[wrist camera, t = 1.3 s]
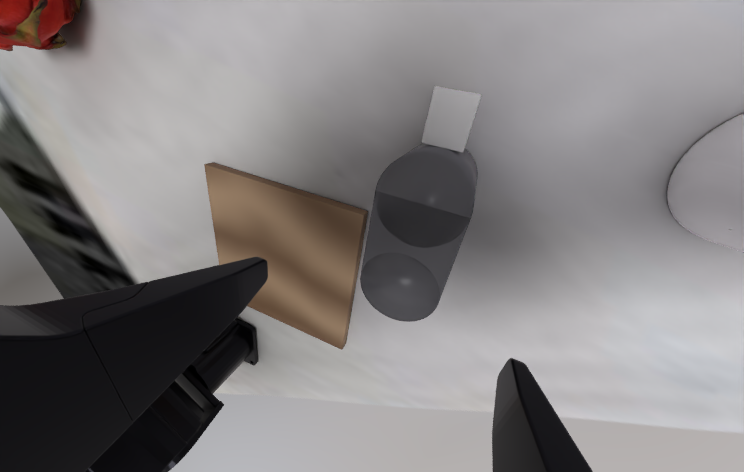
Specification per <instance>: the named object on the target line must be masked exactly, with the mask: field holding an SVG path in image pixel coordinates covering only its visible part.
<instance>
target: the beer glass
mask: <svg viewBox="0 0 744 472" xmlns="http://www.w3.org/2000/svg"><path fill="white" fill-rule="evenodd" d="M667 201H668V206H669V209H670V211H671V213H672V215H673V216H674V218H675V219H676V220H677V222H678V223H679V224H680V225H681V226H682V227H684V228H685V229H686V230H688V231H689V232H691V233H693V234H695V235H697V236H698V237H700V238H703V239H705V240H708V241H710V242H713V243H716V244H719V245H722V246H725V247H728V248H731V249H734V250H737V251H740V252H743V253H744V113H743V114H741V115H738V116H736V117H734V118H732V119H730V120H728V121H727V122H725V123H723V124H721V125H720V126H718V127H716V128H715V129H713V130H712V131H710V132H709V133H708V134H706V135H705V136H704V137H702V138H701V139H700V140H699V141H697V142H696V143H695V144H694V145H693V146H692V147H691V148H690V149H689V150H688V151H687V152H686V153H685V155H684V156H683V157H682V158H681V160H680V161H679V162H678V164H677V165H676V167H675V169H674V171H673V173H672V175H671V177H670V180H669V184H668V188H667Z"/></svg>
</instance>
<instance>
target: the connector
mask: <svg viewBox="0 0 744 472" xmlns="http://www.w3.org/2000/svg"><path fill="white" fill-rule="evenodd" d="M481 97H482V94H478V93H472V92H467V91H461V90H455V89H450V88H444V87H439V86H435V87H434V91H433V95H432V99H431V103H430V108H429V112H428V116H427V120H426V124H425V128H424V132H423V136H422V141H421V143H423V144H421V145H420V146H418V147H416V148H415V149H413V150H412V151H410V152H408V153H407V154H405V155H404V156H402V157H400V158H399V159H397V160H396V161H394V162H393V163H392V164H390V165H389V166H388V167H387V168H386V170H385V171H384V172H383V174H382V175H381V177H380V179H379V181H378V184H377V187H376V191H375V197H374V203H373V208H372V214H371V220H370V225H369V231H368V237H367V242H366V248H365V254H364V259H363V265H362V271H361V278H360V281H361V288H362V291H363V293H364V295H365V297H366V299H367V300H368V301H369V303H370V304H371V305H372V306H373V307H374V308H375V309H376V310H378V311H379V312H380V313H382V314H384V315H385V316H388V317H390V318H392V319H395V320H399V321H417V320H421V319H424V318H426V317H427V316H429V315H430V314H431V313H432V312H433V311H434V310H435V309H436V307H437V305H438V303H439V300H440V297H441V295H442V292H443V290H444V287H445V284H446V282H447V279H448V277H449V274H450V271H451V269H452V266H453V263H454V261H455V258H456V256H457V253H458V250H459V248H460V245H461V242H462V240H463V237H464V235H465V232H466V229H467V227H468V224H469V222H470V219H471V216H472V212H473V206H474V199H475V191H476V184H477V167H476V163H475V161H474V159H473V157H472V155H471V154H470V153H469V151H468V150H467V149H466V148H465V146H466V143H467V140H468V137H469V134H470V131H471V128H472V125H473V121H474V118H475V115H476V112H477V109H478V106H479V103H480V100H481Z"/></svg>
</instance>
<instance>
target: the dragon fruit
mask: <svg viewBox="0 0 744 472" xmlns="http://www.w3.org/2000/svg"><path fill="white" fill-rule="evenodd" d="M80 3H81V0H0V49H3V50H7V51H13V47H12V46H13V45H16V46H27V47H30V48H35V49H39V50H42V49H45V50H49V49H54V48H60V47H63V46H64V45H66V41H65V40H64V38H63V37H62V36H61V35H60V34H59V33H58V31H59V29H60V28H61V27H62V26H63V25H64V24H67V23H69V22H71V21H72V19H73V17H74V14H75V13H79V12H80ZM62 42H63V43H62ZM61 43H62V44H61Z"/></svg>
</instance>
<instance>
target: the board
mask: <svg viewBox="0 0 744 472" xmlns="http://www.w3.org/2000/svg"><path fill="white" fill-rule="evenodd" d="M204 165H205V172H206V179H207V185H208V192H209V199H210V205H211V212H212V219H213V226H214V232H215V239H216V246H217V252H218V259H219V265H222V264H226V263H230V262H235V261H239V260H243V259H247V258H252V257H261V258H263V259H265V260H267V263H268V279H267V281H266V283H265V284H264V285H263V286H262V288H261V289H260V290H259V291H258V293H257V294H256V295H255V296H254V298H253V299H252V300H251V301H250V303H249V304H248V305H247V306H249V307H251V308H253V309H255V310H257V311H259V312H262V313H264V314H266V315H268V316H270V317H272V318H275V319H277V320H279V321H281V322H283V323H285V324H288V325H290V326H292V327H294V328H296V329H298V330H300V331H303V332H305V333H307V334H309V335H311V336H313V337H316V338H318V339H320V340H322V341H324V342H326V343H329V344H331V345H333V346H335V347H337V348H339V349H343V347H344V346H345V344H346V340H347V334H348V328H349V322H350V316H351V310H352V304H353V298H354V292H355V286H356V280H357V275H358V269H359V263H360V257H361V251H362V245H363V239H364V233H365V227H366V221H367V215H368V211H366V210H362V209H359V208H356V207H353V206H350V205H347V204H343V203H340V202H337V201H334V200H331V199H327V198H324V197H321V196H318V195H315V194H312V193H308V192H305V191H302V190H299V189H296V188H292V187H289V186H286V185H283V184H280V183H277V182H273V181H270V180H267V179H264V178H261V177H257V176H254V175H251V174H248V173H245V172H242V171H238V170H235V169H232V168H229V167H226V166H222V165H219V164H216V163H208V164H204Z"/></svg>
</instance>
